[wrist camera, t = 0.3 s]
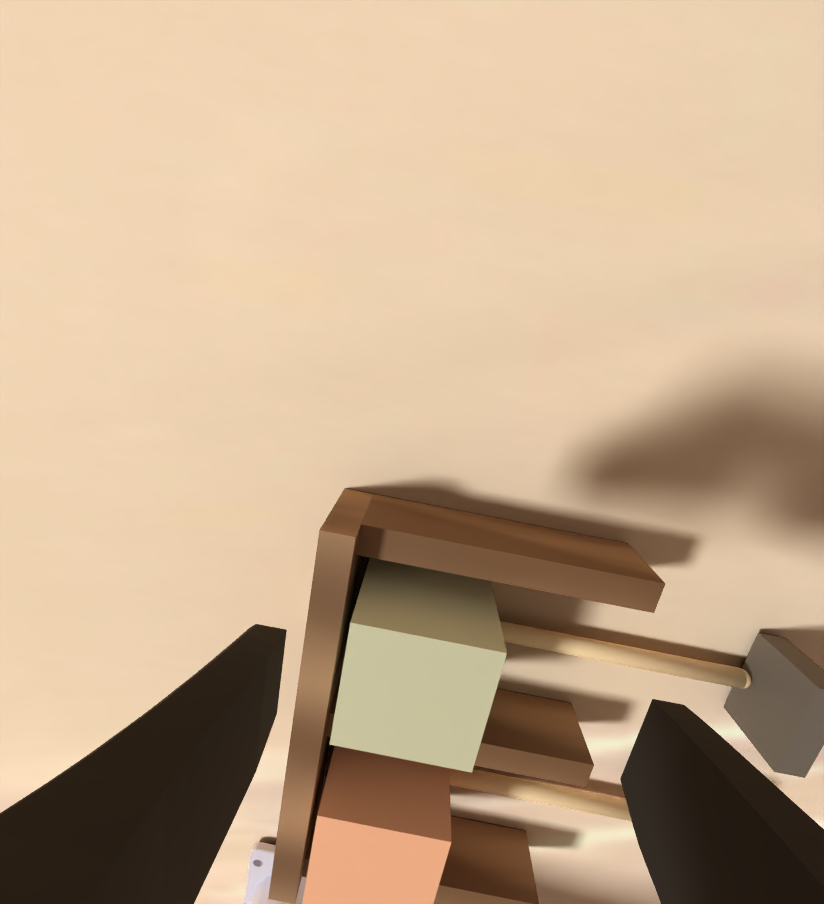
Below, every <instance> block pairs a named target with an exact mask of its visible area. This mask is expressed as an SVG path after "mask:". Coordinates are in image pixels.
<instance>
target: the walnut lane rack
mask: <svg viewBox="0 0 824 904" xmlns="http://www.w3.org/2000/svg"><path fill="white" fill-rule="evenodd" d="M362 556H365V557H370V558H376V559H381V560H386V561H391V562H396V563H401V564H406V565H411V566H416V567H422V568H427V569H432V570H437V571H442V572H447V573H452V574H457V575H463V576H468V577H473V578H478V579H483V580H488V581H493V582H498V583H504V584H509V585H514V586H519V587H524V588H529V589H534V590H539V591H544V592H550V593H555V594H560V595H565V596H570V597H575V598H580V599H585V600H591V601H596V602H601V603H606V604H611V605H616V606H621V607H626V608H632V609H637V610H642V611H647V612H652V613H654V611H655V609H656V606H657V604H658V601H659V599H660V596H661V593H662V591H663V588H664V586H665V583H664V582H663V581H662V580H661V578H660V577H659V576H658V575H657V574H656V573H655V572H654V571H653V570H652V569H651V568H650V567H649V566H648V564H647V563H646V562H645V561H644V560H643V559H642V558H641V557H640V556H639V555H638V554H637V553H636V552H635V551H634V549H633V548H632V547H631V546H630V545H629V544H628V543H623V542H618V541H613V540H607V539H602V538H597V537H592V536H587V535H582V534H577V533H571V532H566V531H561V530H556V529H551V528H546V527H541V526H536V525H530V524H525V523H520V522H515V521H510V520H505V519H500V518H494V517H489V516H484V515H479V514H474V513H469V512H464V511H458V510H453V509H448V508H443V507H438V506H433V505H428V504H423V503H417V502H412V501H407V500H402V499H397V498H392V497H387V496H381V495H376V494H371V493H366V492H361V491H356V490H351V489H344V491H343V492H342V494H341V496H340V497H339V499H338V501H337V502H336V504H335V506H334V507H333V509H332V511H331V512H330V514H329V516H328V517H327V519H326V521H325V522H324V524H323V525H322V527H321V529H320V531H319V538H318V546H317V553H316V560H315V567H314V574H313V581H312V589H311V596H310V603H309V610H308V617H307V624H306V632H305V639H304V646H303V653H302V660H301V667H300V675H299V682H298V689H297V696H296V703H295V710H294V717H293V725H292V732H291V739H290V746H289V753H288V760H287V768H286V775H285V782H284V789H283V796H282V803H281V811H280V818H279V825H278V832H277V839H276V846H275V854H274V861H273V868H272V875H271V882H270V889H269V897H268V899H271V900H276V901H281V902H286V903H291V904H295V902H296V898H297V894H298V890H299V886H300V882H301V878H302V877H307V872H308V866H309V861H310V855H311V849H312V843H313V837H314V832H315V826H316V820H317V815H318V811H319V806H320V802H321V798H322V794H323V791H322V788H323V782H324V776H325V770H326V765H327V759H328V753H329V747H330V745H329V744H330V738H331V733H332V727H333V721H334V715H335V709H336V703H337V698H338V692H339V686H340V680H341V674H342V669H343V663H344V657H345V651H346V645H347V639H348V634H349V628H350V622H351V619H352V614H353V608H354V602H355V596H356V590H357V585H358V579H359V573H360V567H361V561H362ZM474 766H479V767H484V768H490V769H495V770H500V771H505V772H510V773H515V774H520V775H525V776H530V777H535V778H540V779H545V780H550V781H555V782H561V783H566V784H571V785H576V786H581V787H586V784H587V782H588V779H589V777H590V774H591V772H592V769H593V766H594V764H593V761H592V759H591V756H590V753H589V750H588V748H587V745H586V742H585V740H584V737H583V734H582V731H581V729H580V726H579V723H578V721H577V718H576V715H575V712H574V710H573V707H572V704H571V703H567V702H562V701H557V700H552V699H547V698H542V697H537V696H532V695H527V694H522V693H516V692H511V691H506V690H501V689H496V693H495V696H494V699H493V703H492V706H491V710H490V713H489V716H488V720H487V723H486V727H485V730H484V733H483V737H482V740H481V744H480V747H479V750H478V754H477V757H476V761H475V764H474ZM434 903H438V904H539V902H538V896H537V891H536V885H535V880H534V874H533V869H532V863H531V858H530V852H529V847H528V841H527V836H526V831H523V830H518V829H513V828H508V827H503V826H498V825H493V824H488V823H483V822H478V821H473V820H468V819H463V818H458V817H453V816H451V846H450V849H449V852H448V856H447V859H446V862H445V866H444V869H443V873H442V876H441V879H440V883H439V886H438V890H437V893H436V896H435V900H434Z"/></svg>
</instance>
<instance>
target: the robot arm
mask: <svg viewBox="0 0 824 904" xmlns="http://www.w3.org/2000/svg"><path fill="white" fill-rule="evenodd" d="M285 639H286V630H285V629H279V628H274V627H269V626H264V625H258V624H255V625H254V626H252V627H250V628H249V629H248V630H247V631H246V632H244V633H243V634H242V635H241V636H240V637H239V638H237V639H236V640H235V641H234V642H233V643H232V644H230V645H229V646H228V647H227V648H226V649H225V650H223V651H222V652H221V653H220V654H219V655H218V656H216V657H215V658H214V659H213V660H212V661H210V662H209V663H208V664H207V665H206V666H204V667H203V668H202V669H201V670H199V671H198V672H197V673H196V674H195V675H193V676H192V677H191V678H190V679H188V680H187V681H186V682H185V683H183V684H182V685H181V686H179V687H178V688H177V689H176V690H174V691H173V692H172V693H171V694H169V695H168V696H167V697H166V698H164V699H163V700H162V701H161V702H159V703H158V704H157V705H155V706H154V707H153V708H152V709H150V710H149V711H148V712H146V713H145V714H144V715H142V716H141V717H140V718H138V719H137V720H135V721H134V722H133V723H131V724H130V725H129V726H127V727H126V728H124V729H123V730H122V731H120V732H119V733H118V734H116V735H115V736H113V737H112V738H111V739H109V740H108V741H107V742H105V743H104V744H103V745H101V746H100V747H98V748H97V749H96V750H94V751H93V752H91V753H90V754H89V755H87V756H86V757H84V758H83V759H81V760H80V761H79V762H77V763H76V764H74V765H73V766H71V767H70V768H68V769H67V770H65V771H64V772H62V773H61V774H60V775H58V776H57V777H55V778H54V779H52V780H51V781H49V782H48V783H46V784H45V785H43V786H42V787H40V788H39V789H37V790H35V791H34V792H32V793H31V794H29V795H28V796H26V797H25V798H23V799H21V800H20V801H18V802H17V803H15V804H14V805H12V806H11V807H9V808H8V809H6V810H4V811H3V812H1V813H0V904H194V902H195V900H196V898H197V896H198V894H199V892H200V889H201V887H202V885H203V883H204V881H205V879H206V877H207V875H208V872H209V870H210V868H211V866H212V864H213V862H214V860H215V858H216V856H217V853H218V851H219V849H220V847H221V845H222V843H223V841H224V839H225V836H226V834H227V832H228V830H229V828H230V826H231V824H232V822H233V819H234V817H235V815H236V813H237V811H238V809H239V807H240V804H241V802H242V800H243V798H244V796H245V794H246V792H247V790H248V787H249V785H250V783H251V781H252V779H253V777H254V774H255V772H256V769H257V767H258V764H259V761H260V759H261V756H262V753H263V750H264V748H265V745H266V742H267V739H268V737H269V734H270V731H271V728H272V725H273V723H274V720H275V717H276V714H277V707H278V698H279V690H280V681H281V673H282V664H283V656H284V647H285ZM621 783H622V787H623V791H624V794H625V798H626V802H627V806H628V809H629V813H630V817H631V820H632V823H633V827H634V830H635V834H636V837H637V840H638V844H639V847H640V849H641V852H642V855H643V857H644V860H645V863H646V865H647V868H648V870H649V873H650V876H651V878H652V881H653V883H654V886H655V888H656V891H657V894H658V896H659V899H660V901H661V904H824V829H823V828H822V827H820V826H819V825H818V824H817V823H816V822H815V821H814V820H813V819H812V818H810V817H809V816H808V815H807V814H806V813H805V812H804V811H803V810H802V809H800V808H799V807H798V806H797V805H796V804H795V803H794V802H793V801H792V800H790V799H789V798H788V797H787V796H786V795H785V794H784V793H783V792H782V791H781V790H779V789H778V788H777V787H776V786H775V785H774V784H773V783H772V782H771V781H770V780H768V779H767V778H766V777H765V776H764V775H763V774H762V773H761V772H760V771H759V770H757V769H756V768H755V767H754V766H753V765H752V764H751V763H750V762H749V761H748V760H746V759H745V758H744V757H743V756H742V755H741V754H740V753H739V752H738V751H737V750H735V749H734V748H733V747H732V746H731V745H730V744H729V743H728V742H727V741H725V740H724V739H723V738H722V737H721V736H720V735H719V734H718V733H716V732H715V731H714V730H713V729H712V728H711V727H710V726H709V725H707V724H706V723H705V722H704V721H703V720H702V719H700V718H699V717H698V716H697V715H696V714H694V713H693V712H692V711H691V710H690V709H688V708H687V707H686V706H685V705H682V704H676V703H671V702H666V701H660V700H655V699H652V702H651V704H650V707H649V709H648V712H647V714H646V717H645V719H644V722H643V724H642V727H641V729H640V732H639V734H638V737H637V739H636V742H635V744H634V747H633V749H632V751H631V754H630V756H629V759H628V761H627V764H626V766H625V769H624V771H623V774H622V776H621ZM275 846H276V845H273V844H268V843H263V842H258V843H255V844H254V845H253V847H252V850H251V853H250V858H249V867H248V875H247V884H246V892H245V901H244V904H291V903H286V902H281V901H276V900H271V899H268V897H269V889H270V882H271V875H272V868H273V861H274V854H275ZM306 878H307V877H302V878H301V882H300V886H299V890H298V894H297V898H296V902H295V904H302V901H303V896H304V890H305V884H306Z"/></svg>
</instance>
